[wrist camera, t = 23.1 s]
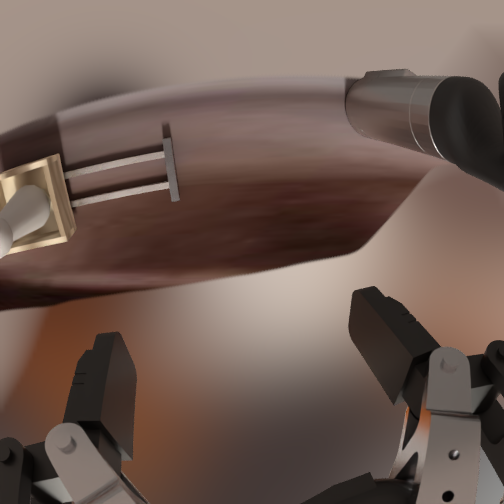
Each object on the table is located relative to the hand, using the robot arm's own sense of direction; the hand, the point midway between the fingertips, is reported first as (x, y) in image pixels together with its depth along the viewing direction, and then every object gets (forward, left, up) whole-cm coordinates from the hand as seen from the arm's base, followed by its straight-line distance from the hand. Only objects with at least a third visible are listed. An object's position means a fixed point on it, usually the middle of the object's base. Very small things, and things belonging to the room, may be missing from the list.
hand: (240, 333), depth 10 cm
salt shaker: (+10, -20, -30) cm, 37 cm away
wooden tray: (+10, -21, -32) cm, 39 cm away
